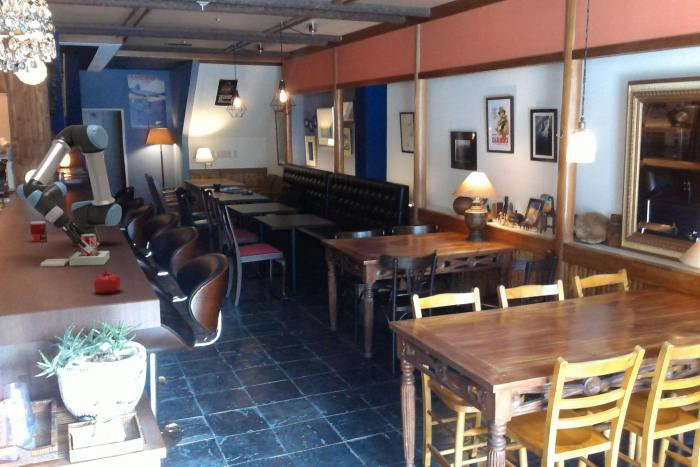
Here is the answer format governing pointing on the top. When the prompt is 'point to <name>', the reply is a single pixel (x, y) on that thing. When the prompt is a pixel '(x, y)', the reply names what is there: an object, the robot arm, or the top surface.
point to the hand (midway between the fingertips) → (94, 248)
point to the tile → (54, 262)
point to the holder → (89, 259)
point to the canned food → (38, 231)
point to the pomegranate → (107, 282)
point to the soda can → (90, 244)
